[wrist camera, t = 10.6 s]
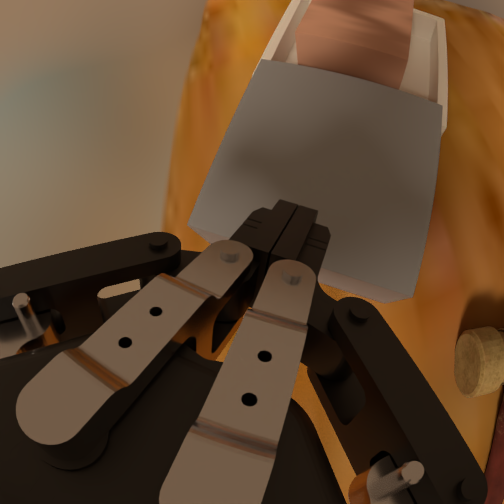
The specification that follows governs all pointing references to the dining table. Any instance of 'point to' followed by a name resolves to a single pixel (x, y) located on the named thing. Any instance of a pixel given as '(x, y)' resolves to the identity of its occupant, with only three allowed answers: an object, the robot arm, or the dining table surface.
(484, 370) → the gavel
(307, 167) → the grey platform
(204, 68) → the dining table surface
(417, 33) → the box
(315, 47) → the terracotta block
